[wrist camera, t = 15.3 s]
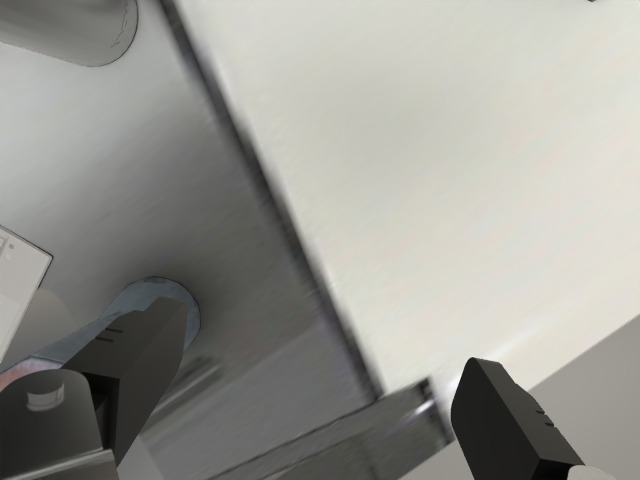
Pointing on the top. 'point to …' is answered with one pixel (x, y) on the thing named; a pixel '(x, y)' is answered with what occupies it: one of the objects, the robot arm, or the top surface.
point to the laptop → (17, 282)
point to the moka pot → (127, 301)
